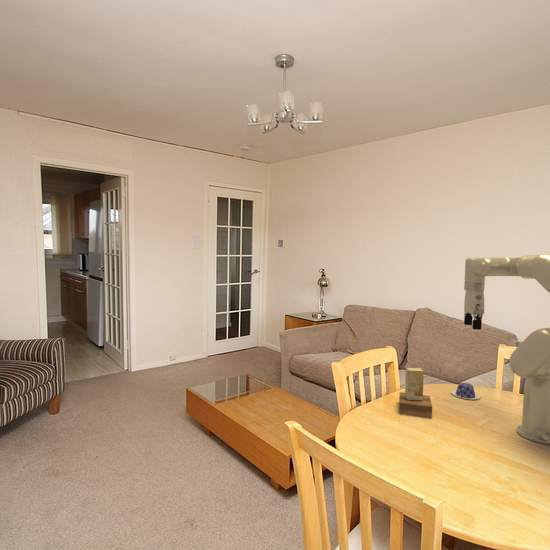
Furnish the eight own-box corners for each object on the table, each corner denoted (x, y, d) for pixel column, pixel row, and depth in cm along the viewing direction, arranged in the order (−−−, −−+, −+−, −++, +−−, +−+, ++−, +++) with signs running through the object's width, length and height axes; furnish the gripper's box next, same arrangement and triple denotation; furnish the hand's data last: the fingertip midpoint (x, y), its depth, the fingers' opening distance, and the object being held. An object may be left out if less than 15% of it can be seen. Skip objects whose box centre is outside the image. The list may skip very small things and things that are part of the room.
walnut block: (431, 419, 146) (432, 407, 146) (399, 415, 150) (399, 402, 150) (429, 407, 158) (429, 395, 157) (399, 403, 161) (399, 392, 161)
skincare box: (407, 400, 152) (407, 370, 152) (404, 396, 156) (404, 367, 156) (423, 400, 151) (424, 370, 151) (420, 397, 156) (420, 367, 155)
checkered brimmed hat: (446, 395, 171) (447, 384, 170) (456, 389, 179) (456, 378, 179) (475, 403, 162) (476, 391, 162) (483, 396, 171) (484, 384, 170)
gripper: (492, 289, 149) (490, 331, 150) (475, 285, 166) (473, 323, 167) (472, 288, 150) (470, 331, 151) (457, 284, 167) (456, 322, 168)
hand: (472, 327), depth 159 cm, fingers open, 9 cm apart
